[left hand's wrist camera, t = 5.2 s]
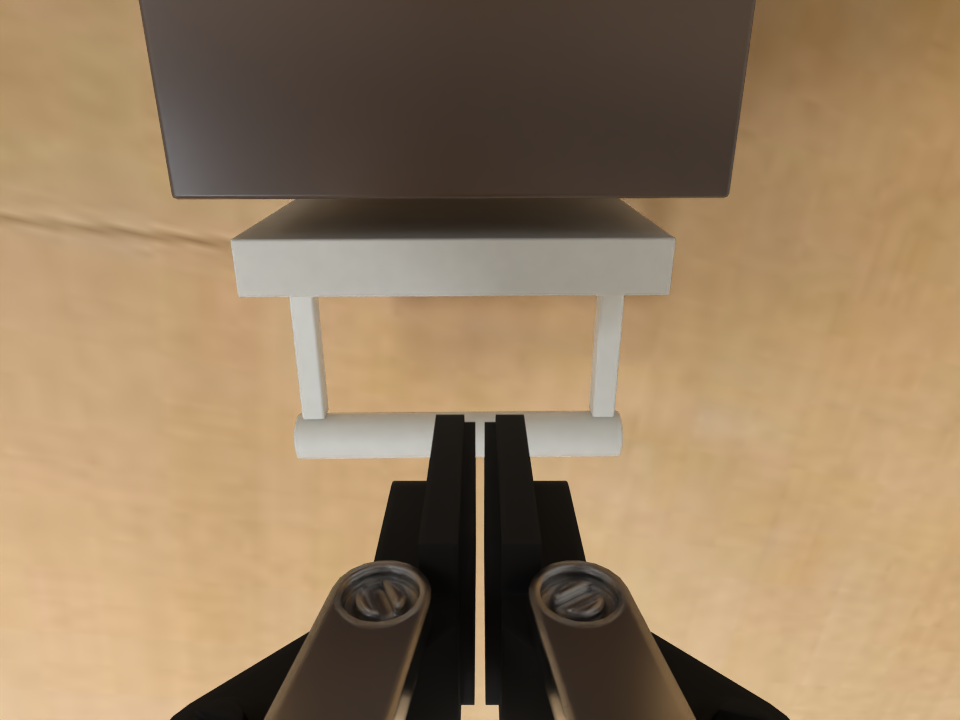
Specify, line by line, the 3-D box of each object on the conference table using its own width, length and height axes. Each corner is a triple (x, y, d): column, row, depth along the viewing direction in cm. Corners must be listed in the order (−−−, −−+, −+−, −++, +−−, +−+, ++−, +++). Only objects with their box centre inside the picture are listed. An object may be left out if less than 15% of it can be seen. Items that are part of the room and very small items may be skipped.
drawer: (591, 389, 22) (645, 517, 16) (329, 391, 22) (269, 520, 16) (637, -267, 16) (762, -530, 9) (267, -270, 16) (118, -540, 9)
